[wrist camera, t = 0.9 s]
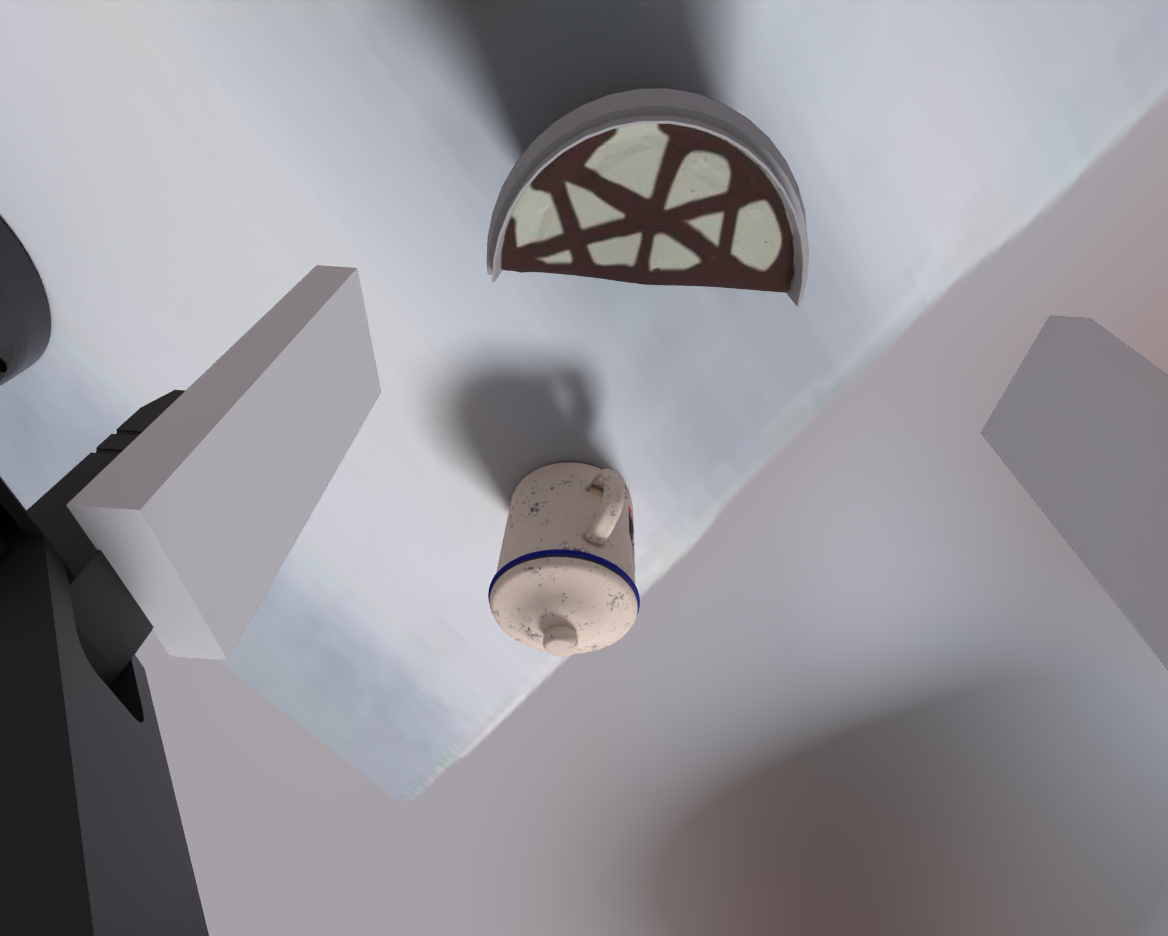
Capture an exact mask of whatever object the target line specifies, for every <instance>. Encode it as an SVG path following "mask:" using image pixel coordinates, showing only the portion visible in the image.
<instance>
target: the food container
mask: <svg viewBox="0 0 1168 936" xmlns="http://www.w3.org/2000/svg"><path fill="white" fill-rule="evenodd" d="M808 260H809V247H808V237H807V226H806V217H805V210H804V206H803V202H802V199H801V195H800V192H799V188H798V185H797V183H796V181H795V178H794V176H793V174H792V172H791V170H790V168H789V166H788V164H787V162H786V160H785V159H784V157H783V156H782V155H781V153H780V152H779V151H778V149H777V148H776V147H775V145H774V144H773V142H772V141H771V140H770V138H769V137H768V136H766V135H765V134H764V133H763V132H762V131H761V130H760V129H759V128H758V127H757V126H756V125H755V124H754V123H752V122H751V121H750V120H749V119H748V118H746V117H745V116H743V115H741V114H740V113H738V112H737V111H735V110H733V109H732V108H730V107H729V106H727V105H725V104H723V103H721V102H718V101H715V100H713V99H710V98H708V97H705V96H702V95H700V94H697V93H691V92H686V91H680V90H674V89H669V88H662V89H635V90H630V91H625V92H620V93H615V94H610V95H607V96H604V97H602V98H599V99H597V100H594V101H592V102H589V103H586V104H584V105H581V106H580V107H578V108H576V109H575V110H573V111H571V112H570V113H568V114H567V115H565V116H563V117H562V118H560V119H558V120H557V121H555V122H554V123H553V124H552V125H551V126H550V127H549V128H547V129H546V130H545V131H544V132H543V133H542V134H541V135H539V136H538V137H537V138H536V139H535V140H534V141H533V142H532V143H531V145H530V146H529V147H528V148H527V150H526V151H525V152H524V153H523V154H522V156H521V157H520V158H519V159H518V161H517V162H516V163H515V165H514V167H513V169H512V170H511V172H510V174H509V176H508V177H507V179H506V181H505V183H504V184H503V186H502V188H501V191H500V194H499V197H498V199H497V202H496V205H495V207H494V210H493V213H492V218H491V224H490V229H489V234H488V243H487V270H488V274H489V275H492V282H495V280H496V279H497V277H498V276H499V274H500V273H501V272H502V270H509V271H517V272H545V273H556V274H567V275H577V276H585V277H594V278H602V279H609V280H615V281H622V282H630V283H638V284H646V285H684V286H707V287H723V288H736V289H748V290H761V291H773V292H786V293H787V294H788V296H789V297H790V298H791V299H792V301H793V302H794V303H795V304H796V306H797V307H799V306H800V302H801V300H802V298H803V294H804V290H805V285H806V281H807V274H808Z"/></svg>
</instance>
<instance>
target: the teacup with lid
mask: <svg viewBox="0 0 1168 936" xmlns="http://www.w3.org/2000/svg"><path fill="white" fill-rule="evenodd" d="M488 597H489V604H490V608H491V612H492V614H493V616H494V618H495V620H496V622H497V623H498V625H499V626H500V627H501V628H502V629H503V630H504V631H505V632H506V633H507V634H508V635H509V636H511V637H512V638H514V639H515V640H517V641H519V642H521V643H523V644H525V645H527V646H530V647H532V648H535V649H539V650H542V651H547V652H548V653H549V654H551V655H553V656H558V657H565V656H569V655H571V654H573V653H584V652H590V651H594V650H598V649H601V648H604V647H606V646H608V645H611V644H612V643H614V642H616V641H617V640H619V639H620V638H621V637H623V636H624V635H625V634H626V632H628V631H629V629H630V628H631V626H632V625H633V623H634V621H635V619H636V616H637V614H638V611H639V605H640V599H639V593H638V590H637V588H636V586H635V562H634V528H633V505H632V501H631V498H630V495H629V493H628V491H627V490H626V489H625V485H624V480H623V478H622V476H621V474H620V473H618V472H616V471H614V470H611V469H600V468H597V467H595V466H591V465H588V464H583V463H575V462H564V463H555V464H551V465H547V466H544V467H541V468H539V469H537V470H535V471H533V472H531V473H530V474H528V475H527V476H526V477H525V478H524V479H523V480H522V481H521V482H520V483H519V484H518V485H517V487H516V489H515V491H514V493H513V495H512V499H511V504H510V509H509V514H508V519H507V523H506V528H505V533H504V538H503V543H502V548H501V553H500V558H499V563H498V568H497V573H496V575H495V576H494V578H493V579H492V582H491V584H490V587H489V594H488Z"/></svg>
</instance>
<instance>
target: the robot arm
mask: <svg viewBox="0 0 1168 936" xmlns="http://www.w3.org/2000/svg"><path fill="white" fill-rule="evenodd" d="M50 333H51V314H50V308H49V303H48V300H47V296H46V293H45V290H44V287H43V285H42V283H41V280H40V278H39V276H38V274H37V272H36V270H35V268H34V266H33V264H32V262H31V261H30V259H29V257H28V256H27V254H26V253H25V251H24V249H23V248H22V246H21V245H20V244H19V242H18V241H17V239H16V238H15V237H14V235H13V234H12V233H11V231H10V230H9V229H8V228H7V226H6V225H5V224H4V223H3V222H2V220H1V219H0V385H2V384H4V383H6V382H7V381H9V380H10V379H12V378H13V377H15V376H16V375H18V374H19V373H21V372H22V371H24V370H25V369H27V368H28V367H30V366H31V365H33V364H34V363H35V362H36V361H37V360H38V359H39V358H40V357H41V356H42V354H43V353H44V351H45V349H46V347H47V345H48V342H49V338H50ZM380 393H381V388H380V383H379V378H378V373H377V368H376V363H375V357H374V352H373V347H372V342H371V337H370V332H369V327H368V321H367V316H366V311H365V306H364V301H363V296H362V291H361V286H360V280H359V275H358V270H357V268H348V267H333V266H319V265H317V266H316V267H315V268H314V269H312V270H311V271H310V272H309V273H308V274H307V275H306V276H305V277H304V278H303V279H302V280H301V281H300V282H299V283H298V284H297V285H296V286H295V287H294V288H293V289H292V290H291V291H289V292H288V293H287V294H286V295H285V296H284V297H283V298H282V299H281V300H280V301H279V302H278V303H277V304H276V305H275V306H274V307H273V308H272V309H271V310H270V311H269V312H268V313H266V314H265V315H264V316H263V317H262V318H261V319H260V320H259V321H258V322H257V323H256V324H255V325H254V326H253V327H252V328H251V329H250V330H249V331H248V332H247V333H246V334H245V335H243V336H242V337H241V338H240V339H239V340H238V341H237V342H236V343H235V344H234V345H233V346H232V347H231V348H230V349H229V350H228V351H227V352H226V353H225V354H224V355H223V356H221V357H220V358H219V359H218V360H217V361H216V362H215V363H214V364H213V365H212V366H211V367H210V368H209V369H208V370H207V371H206V372H205V373H204V374H203V375H202V376H201V377H200V378H198V379H197V380H196V381H195V382H194V383H193V384H192V385H191V386H190V387H189V388H188V389H187V390H186V391H183V390H174V391H172V392H170V393H168V394H166V395H164V396H162V397H160V398H158V399H157V400H155V401H153V402H151V403H149V404H147V405H145V406H143V407H141V408H140V409H139V410H138V411H137V412H135V413H134V414H133V415H132V416H131V417H130V418H129V419H128V420H127V421H125V422H124V423H123V424H122V425H121V426H120V427H119V428H118V429H117V434H111V435H110V436H109V437H108V438H107V439H106V440H104V441H103V442H102V443H101V444H100V445H99V446H98V447H97V448H96V449H97V451H96V453H90V454H89V455H88V456H87V457H86V458H84V459H83V460H82V461H81V462H80V463H79V464H78V465H77V466H76V467H74V468H73V469H72V470H71V471H70V472H69V473H68V474H67V475H66V476H64V477H63V478H62V479H61V480H60V481H59V482H58V483H57V484H56V485H55V486H53V487H52V488H51V489H50V490H49V491H48V492H47V493H46V494H45V495H43V496H42V497H41V498H40V499H39V500H38V501H37V502H36V503H35V504H33V505H32V506H31V507H30V508H29V509H28V510H27V511H26V510H25V508H24V507H23V506H22V504H21V503H20V502H19V500H18V499H17V498H16V496H15V495H14V494H13V492H12V491H11V490H10V488H9V487H8V486H7V484H6V483H5V482H4V480H3V479H2V478H1V476H0V936H209V934H208V930H207V926H206V922H205V918H204V913H203V909H202V905H201V901H200V897H199V893H198V889H197V884H196V880H195V876H194V872H193V868H192V864H191V860H190V855H189V852H188V847H187V843H186V839H185V835H184V831H183V826H182V822H181V818H180V814H179V810H178V806H177V801H176V797H175V793H174V789H173V785H172V781H171V776H170V772H169V768H168V764H167V760H166V756H165V752H164V747H163V743H162V740H161V735H160V731H159V727H158V723H157V719H156V714H155V710H154V706H153V702H152V698H151V693H150V689H149V685H148V681H147V677H146V673H145V669H144V667H143V666H142V664H141V663H140V661H139V660H138V658H137V657H136V655H135V653H136V652H137V650H138V649H139V647H140V646H141V645H142V643H143V642H144V640H145V639H146V638H147V636H148V635H149V633H150V632H151V631H152V630H153V632H154V633H155V635H156V636H157V637H158V639H159V640H160V642H161V643H162V645H163V646H164V648H165V649H166V650H167V652H168V653H169V655H170V656H177V657H191V658H205V659H220V660H228V659H229V657H230V655H231V653H232V652H233V650H234V648H235V646H236V645H237V643H238V641H239V639H240V638H241V636H242V634H243V632H244V631H245V629H246V627H247V625H248V624H249V622H250V620H251V618H252V617H253V615H254V613H255V611H256V610H257V608H258V606H259V604H260V603H261V601H262V599H263V597H264V596H265V594H266V592H267V591H268V589H269V587H270V585H271V584H272V582H273V580H274V578H275V577H276V575H277V573H278V571H279V570H280V568H281V566H282V564H283V563H284V561H285V559H286V557H287V556H288V554H289V552H290V550H291V549H292V547H293V545H294V543H295V542H296V540H297V538H298V536H299V535H300V533H301V531H302V529H303V528H304V526H305V524H306V522H307V521H308V519H309V517H310V515H311V514H312V512H313V510H314V508H315V507H316V505H317V503H318V501H319V500H320V498H321V496H322V494H323V493H324V491H325V489H326V487H327V486H328V484H329V482H330V480H331V479H332V477H333V475H334V473H335V472H336V470H337V468H338V466H339V465H340V463H341V461H342V460H343V458H344V456H345V454H346V453H347V451H348V449H349V447H350V446H351V444H352V442H353V440H354V439H355V437H356V435H357V433H358V432H359V430H360V428H361V426H362V425H363V423H364V421H365V419H366V418H367V416H368V414H369V412H370V411H371V409H372V407H373V405H374V404H375V402H376V400H377V398H378V397H379V395H380ZM981 434H982V436H983V437H984V438H985V439H986V441H987V442H988V443H989V445H990V446H991V447H992V448H993V450H994V451H995V452H996V453H997V455H998V456H999V457H1000V458H1001V460H1002V461H1003V462H1004V464H1005V465H1006V466H1007V467H1008V469H1009V470H1010V471H1011V472H1012V474H1013V475H1014V476H1015V477H1016V479H1017V480H1018V481H1019V483H1020V484H1021V485H1022V486H1023V488H1024V489H1025V490H1026V491H1027V492H1028V494H1029V495H1030V496H1031V498H1032V499H1033V500H1034V501H1035V503H1036V504H1037V505H1038V507H1039V508H1040V509H1041V510H1042V512H1043V513H1044V514H1045V515H1046V516H1047V518H1048V519H1049V520H1050V522H1051V523H1052V524H1053V525H1054V527H1055V528H1056V529H1057V531H1058V532H1059V533H1060V534H1061V536H1062V537H1063V538H1064V539H1065V541H1066V542H1067V543H1068V544H1069V545H1070V547H1071V548H1072V550H1073V551H1074V552H1075V553H1076V554H1077V556H1078V557H1079V558H1080V560H1081V561H1082V562H1083V563H1084V565H1085V566H1086V567H1087V568H1088V570H1089V571H1090V572H1091V574H1092V575H1093V576H1094V577H1095V579H1096V580H1097V581H1098V582H1099V584H1100V585H1101V586H1102V587H1103V589H1104V590H1105V591H1106V592H1107V594H1108V595H1109V596H1110V598H1111V599H1112V600H1113V601H1114V603H1115V604H1116V605H1117V606H1118V608H1119V609H1120V610H1121V611H1122V613H1123V614H1124V615H1125V616H1126V618H1127V619H1128V620H1129V621H1130V623H1131V624H1132V625H1133V627H1134V628H1135V629H1136V630H1137V632H1138V633H1139V634H1140V635H1141V636H1142V638H1143V639H1144V641H1145V642H1146V643H1147V644H1148V645H1149V647H1150V648H1151V649H1152V651H1153V652H1154V653H1155V654H1156V656H1157V657H1158V658H1159V660H1160V661H1161V662H1162V663H1163V665H1164V666H1165V667H1166V668H1167V670H1168V374H1167V373H1165V372H1164V371H1162V370H1161V369H1160V368H1158V367H1157V366H1156V365H1154V364H1153V363H1152V362H1150V361H1149V360H1147V359H1146V358H1145V357H1143V356H1142V355H1140V354H1139V353H1138V352H1136V351H1135V350H1134V349H1132V348H1131V347H1129V346H1128V345H1127V344H1125V343H1124V342H1122V341H1121V340H1120V339H1118V338H1117V337H1116V336H1114V335H1113V334H1111V333H1110V332H1109V331H1107V330H1106V329H1105V328H1103V327H1102V326H1101V325H1099V324H1098V323H1096V322H1095V321H1094V320H1092V319H1091V318H1082V317H1066V316H1052V315H1050V316H1049V318H1048V319H1047V321H1046V322H1045V324H1044V326H1043V328H1042V329H1041V331H1040V333H1039V335H1038V336H1037V338H1036V340H1035V341H1034V343H1033V345H1032V346H1031V348H1030V350H1029V351H1028V353H1027V355H1026V356H1025V358H1024V360H1023V361H1022V363H1021V365H1020V367H1019V368H1018V370H1017V372H1016V373H1015V375H1014V377H1013V378H1012V380H1011V382H1010V384H1009V385H1008V387H1007V389H1006V390H1005V392H1004V394H1003V395H1002V397H1001V399H1000V400H999V402H998V404H997V406H996V407H995V409H994V411H993V412H992V414H991V416H990V417H989V419H988V421H987V422H986V424H985V426H984V428H983V429H982V431H981Z"/></svg>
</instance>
